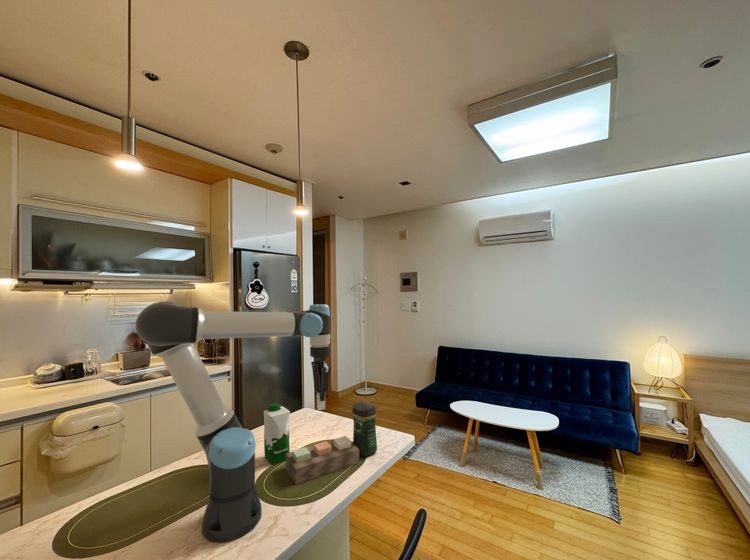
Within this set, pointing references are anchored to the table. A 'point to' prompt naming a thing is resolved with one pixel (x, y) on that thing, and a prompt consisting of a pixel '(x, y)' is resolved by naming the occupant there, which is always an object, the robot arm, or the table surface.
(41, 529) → the table surface
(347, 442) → the cream button
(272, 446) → the milk carton
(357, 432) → the coffee jar
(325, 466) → the button console
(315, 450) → the terracotta button
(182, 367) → the robot arm
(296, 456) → the sage button
